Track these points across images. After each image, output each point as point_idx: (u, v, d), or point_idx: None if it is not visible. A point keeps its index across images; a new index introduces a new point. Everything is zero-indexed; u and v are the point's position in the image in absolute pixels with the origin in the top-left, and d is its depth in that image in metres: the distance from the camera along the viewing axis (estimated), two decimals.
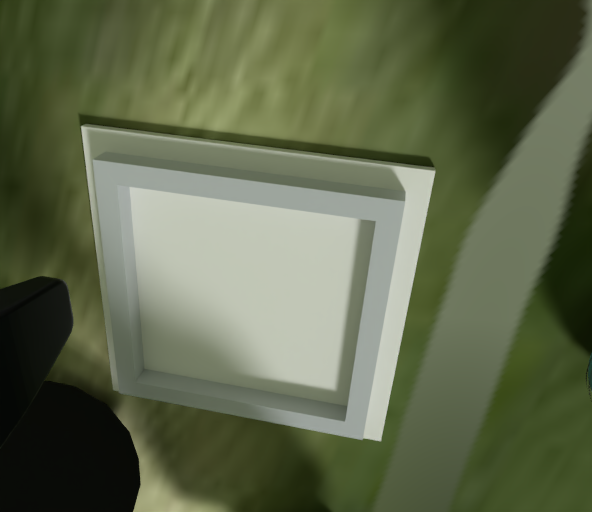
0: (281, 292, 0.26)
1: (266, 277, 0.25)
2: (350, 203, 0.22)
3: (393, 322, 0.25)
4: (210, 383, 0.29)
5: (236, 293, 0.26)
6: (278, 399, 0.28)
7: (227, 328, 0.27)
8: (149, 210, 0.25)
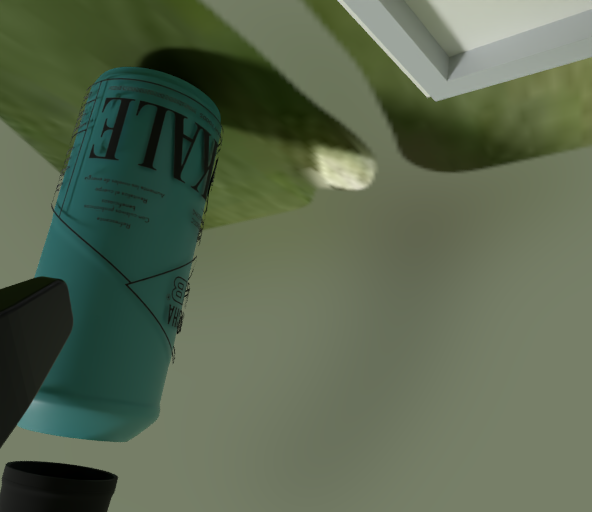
0: None
1: None
2: (481, 81, 0.21)
3: None
4: None
5: None
6: None
7: None
8: None
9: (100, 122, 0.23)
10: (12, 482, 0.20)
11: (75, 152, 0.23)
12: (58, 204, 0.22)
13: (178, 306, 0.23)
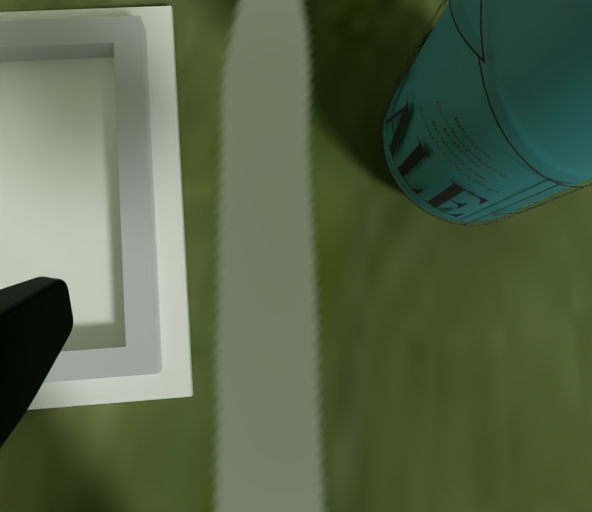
0: (22, 183, 0.20)
1: (0, 167, 0.20)
2: (82, 28, 0.20)
3: (167, 192, 0.21)
4: None
5: None
6: None
7: None
8: None
9: (470, 207, 0.17)
10: None
11: (525, 202, 0.16)
12: (573, 183, 0.14)
13: None
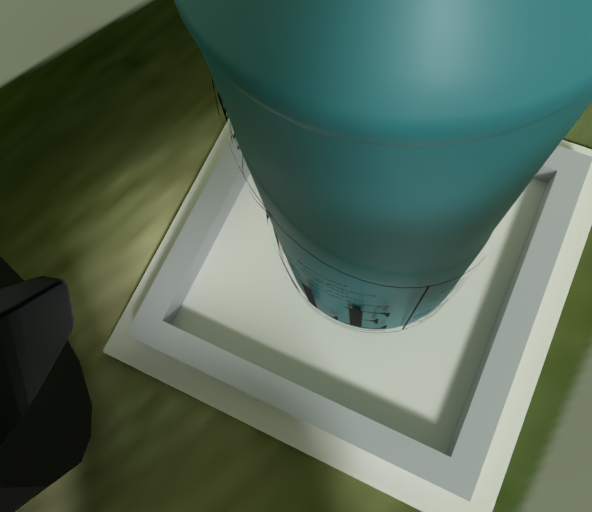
0: None
1: None
2: None
3: (540, 325, 0.20)
4: (257, 365, 0.20)
5: None
6: None
7: None
8: None
9: (389, 317, 0.16)
10: None
11: (433, 297, 0.15)
12: (452, 274, 0.13)
13: None
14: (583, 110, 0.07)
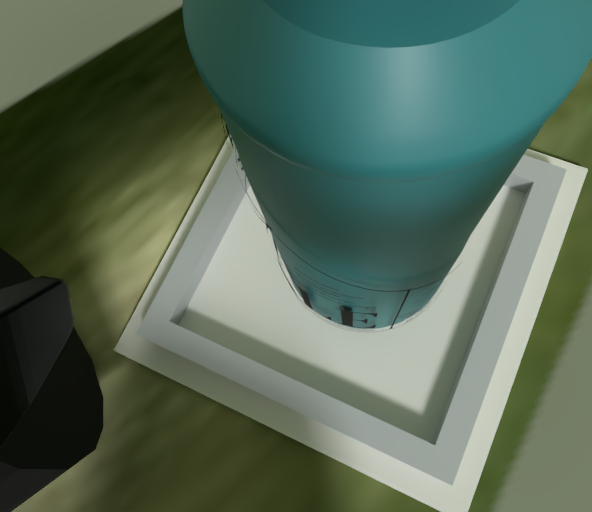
0: None
1: None
2: None
3: (518, 324, 0.22)
4: (257, 363, 0.22)
5: None
6: None
7: None
8: None
9: (377, 317, 0.18)
10: None
11: (416, 299, 0.17)
12: (431, 278, 0.14)
13: None
14: (524, 149, 0.09)
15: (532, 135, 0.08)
